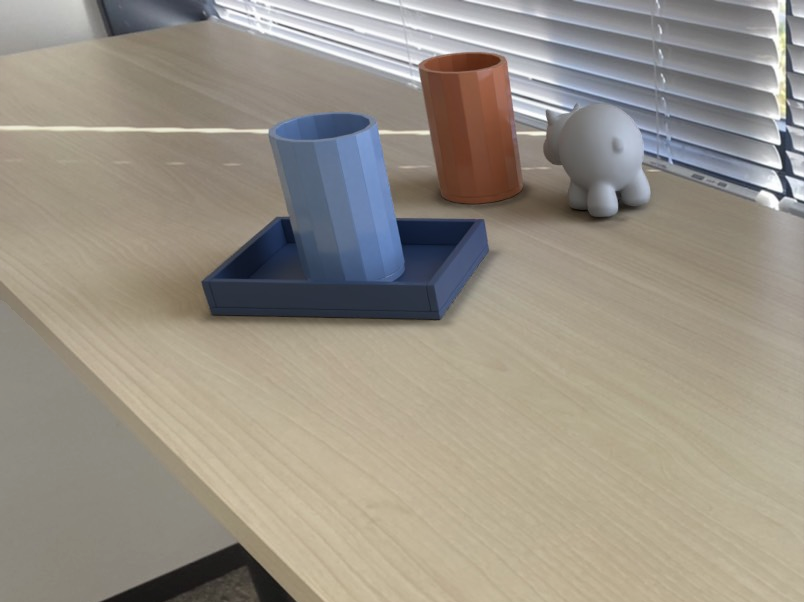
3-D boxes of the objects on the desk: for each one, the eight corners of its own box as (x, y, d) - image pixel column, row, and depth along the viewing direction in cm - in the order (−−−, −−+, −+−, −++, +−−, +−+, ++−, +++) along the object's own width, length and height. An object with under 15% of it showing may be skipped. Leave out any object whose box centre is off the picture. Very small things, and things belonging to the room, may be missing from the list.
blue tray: (210, 315, 84) (200, 281, 83) (284, 247, 95) (276, 216, 93) (440, 319, 83) (434, 285, 81) (489, 250, 93) (484, 218, 92)
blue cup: (290, 292, 86) (250, 141, 79) (327, 254, 92) (293, 111, 85) (386, 293, 85) (354, 142, 79) (418, 255, 91) (390, 111, 85)
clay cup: (430, 203, 103) (406, 73, 96) (454, 176, 109) (433, 51, 102) (511, 204, 102) (493, 73, 96) (531, 177, 108) (515, 51, 102)
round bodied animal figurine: (589, 174, 108) (580, 79, 103) (664, 207, 101) (658, 105, 96) (522, 191, 105) (509, 94, 100) (594, 227, 97) (584, 123, 92)
